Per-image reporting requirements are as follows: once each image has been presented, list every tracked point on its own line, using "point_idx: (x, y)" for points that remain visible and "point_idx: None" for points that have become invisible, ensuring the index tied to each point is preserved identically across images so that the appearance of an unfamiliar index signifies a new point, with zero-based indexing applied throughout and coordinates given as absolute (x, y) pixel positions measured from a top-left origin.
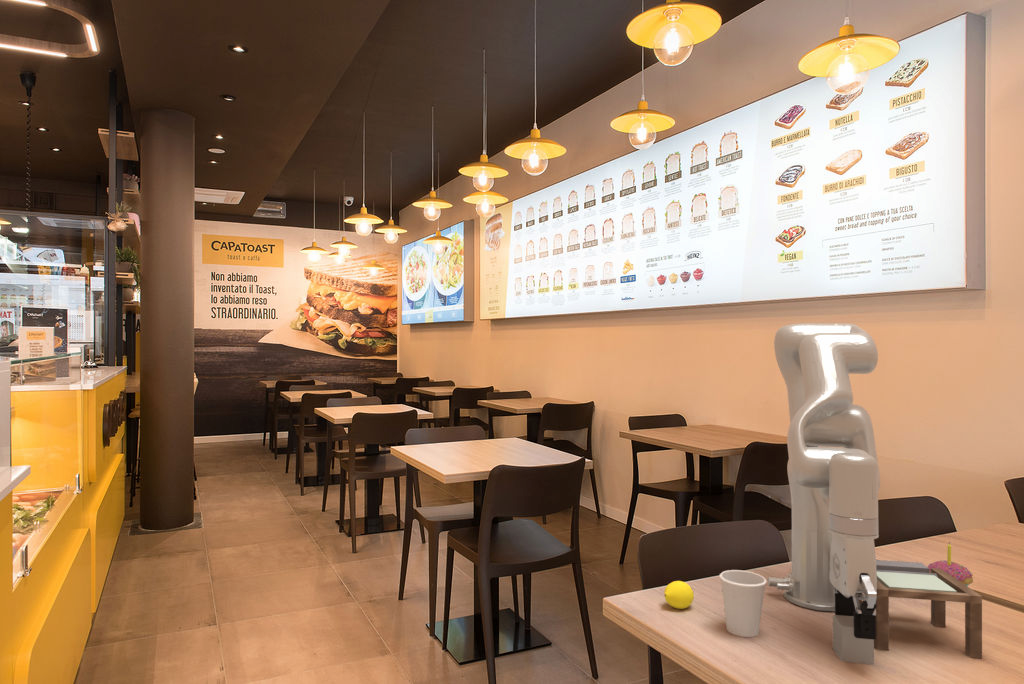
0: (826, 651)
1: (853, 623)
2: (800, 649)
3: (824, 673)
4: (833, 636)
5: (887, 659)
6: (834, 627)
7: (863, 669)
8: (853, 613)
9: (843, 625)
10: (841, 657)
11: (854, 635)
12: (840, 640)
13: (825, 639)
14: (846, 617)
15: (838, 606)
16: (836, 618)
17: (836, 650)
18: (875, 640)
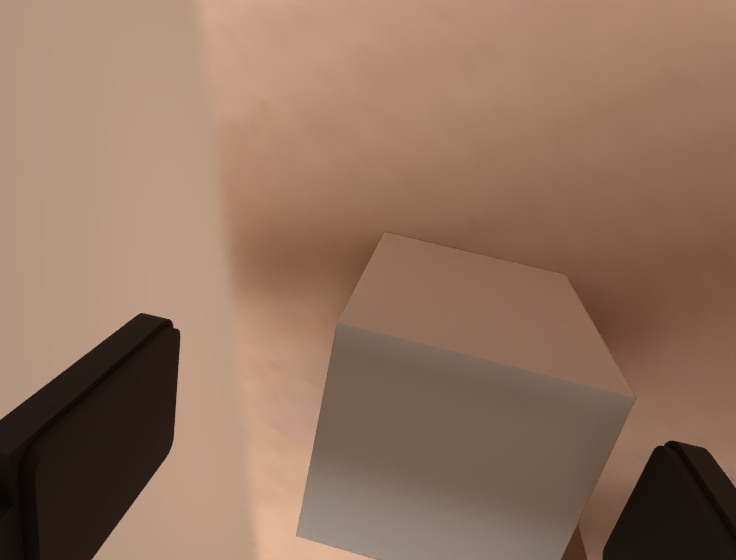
0: (528, 211)
1: (400, 455)
2: (580, 29)
3: (226, 32)
4: (564, 303)
5: None
6: (554, 331)
7: (293, 297)
8: (23, 440)
9: (353, 344)
10: (388, 239)
11: (149, 316)
12: (398, 277)
13: (709, 303)
14: (546, 479)
15: (701, 529)
16: (526, 375)
17: (487, 262)
18: None
